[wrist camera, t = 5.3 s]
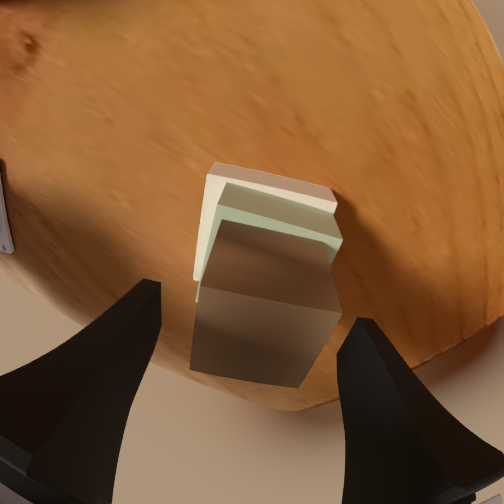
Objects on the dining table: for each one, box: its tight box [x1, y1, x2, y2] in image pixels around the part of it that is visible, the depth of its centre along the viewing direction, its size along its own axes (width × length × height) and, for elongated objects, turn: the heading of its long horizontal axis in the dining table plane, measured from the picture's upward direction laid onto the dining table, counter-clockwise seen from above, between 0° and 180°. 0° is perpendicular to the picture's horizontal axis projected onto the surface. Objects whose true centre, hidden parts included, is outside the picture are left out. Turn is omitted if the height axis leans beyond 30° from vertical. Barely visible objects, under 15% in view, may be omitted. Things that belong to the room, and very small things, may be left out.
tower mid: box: [195, 182, 343, 302], centre depth 13 cm, size 5×5×2 cm
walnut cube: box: [190, 219, 343, 388], centre depth 11 cm, size 4×4×4 cm
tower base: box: [193, 162, 338, 281], centre depth 16 cm, size 6×6×2 cm
